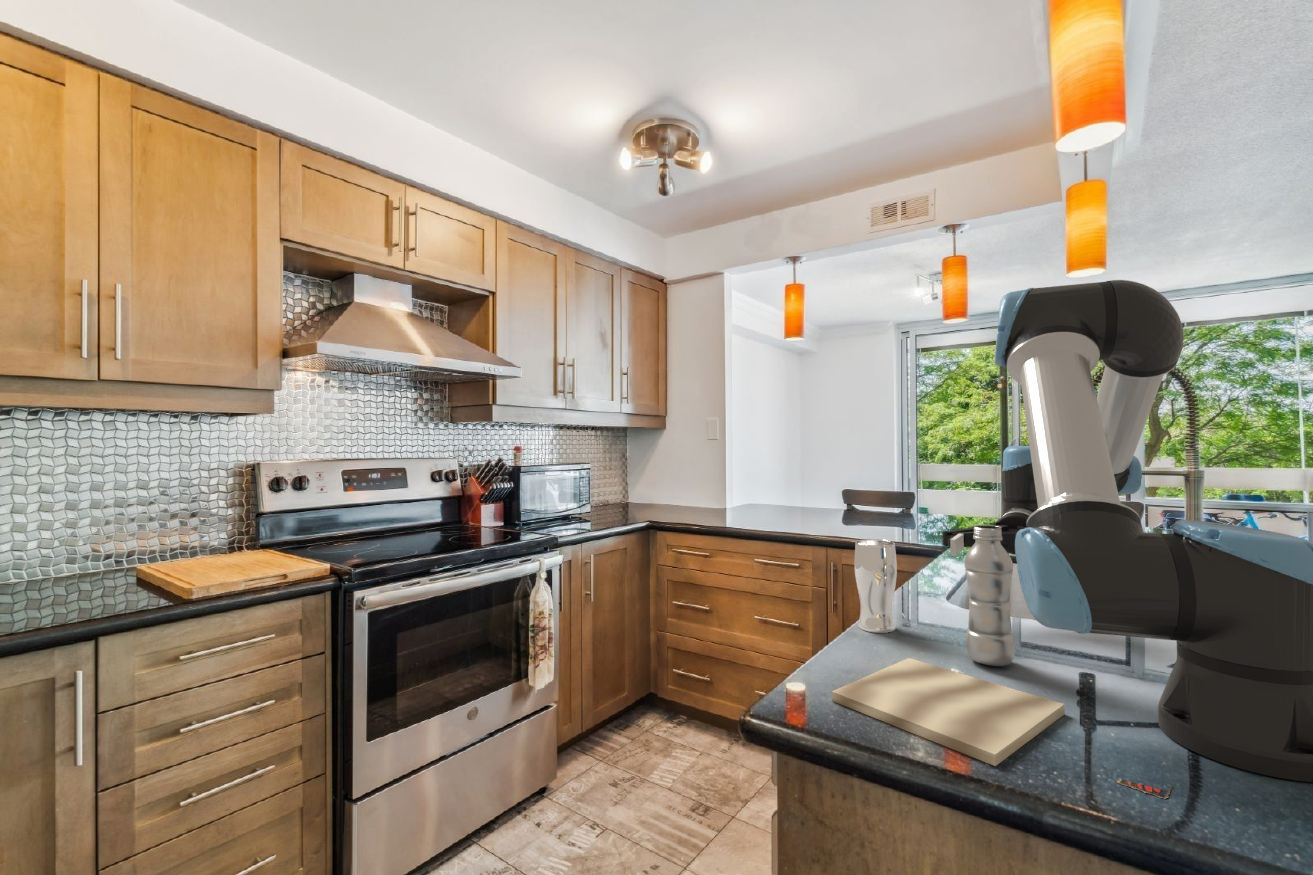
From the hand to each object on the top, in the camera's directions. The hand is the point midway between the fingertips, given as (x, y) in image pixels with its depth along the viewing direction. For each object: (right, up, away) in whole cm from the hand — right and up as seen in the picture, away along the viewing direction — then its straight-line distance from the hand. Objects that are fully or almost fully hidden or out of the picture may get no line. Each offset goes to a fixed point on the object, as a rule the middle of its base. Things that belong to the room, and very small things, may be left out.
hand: (999, 551), depth 97 cm
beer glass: (-16, -15, +9) cm, 24 cm away
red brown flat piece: (-8, -15, -38) cm, 42 cm away
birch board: (-19, -15, -22) cm, 33 cm away
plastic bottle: (-6, -15, -8) cm, 18 cm away
